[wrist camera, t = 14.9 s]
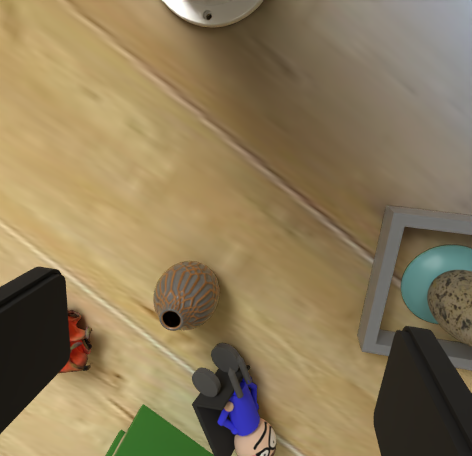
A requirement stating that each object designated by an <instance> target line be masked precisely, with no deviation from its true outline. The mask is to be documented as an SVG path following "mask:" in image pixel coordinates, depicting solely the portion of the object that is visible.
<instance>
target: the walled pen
mask: <svg viewBox="0 0 472 456" xmlns="http://www.w3.org/2000/svg"><path fill="white" fill-rule="evenodd" d="M404 227H413V228H421V229H429V230H437V231H445V232H453V233H461V234H469V235H472V215H465V214H457V213H448V212H440V211H431V210H423V209H414V208H406V207H397V206H389V205H386V209H385V213H384V218H383V222H382V227H381V231H380V236H379V240H378V245H377V249H376V254H375V258H374V263H373V267H372V271H371V276H370V280H369V285H368V289H367V294H366V298H365V303H364V307H363V312H362V316H361V321H360V325H359V330H358V334H357V336H358V340H359V343H360V347H361V351H362V352H368V353H374V354H379V355H385V356H389V353H390V350H391V346H392V342H393V338H394V335H395V332H392V331H386V330H380V325H381V320H382V316H383V312H384V308H385V304H386V300H387V296H388V292H389V288H390V284H391V280H392V276H393V272H394V267H395V263H396V259H397V255H398V251H399V247H400V243H401V239H402V235H403V231H404ZM450 270H468V271H472V249H471V248H468V247H465V246H460V245H443V246H438V247H434V248H432V249H429V250H427V251H425V252H423V253H421V254H420V255H418V256H417V257H416V258H415V259H414V260H413V261H412V262H411V263H410V264H409V265H408V267H407V268H406V270H405V272H404V274H403V277H402V281H401V293H402V297H403V300H404V302H405V304H406V305H407V307H408V308H409V309H410V310H411V311H412V312H413V313H414V314H415V315H416V316H418V317H419V318H421V319H423V320H425V321H428V322H431V323H435V324H439V323H438V322H437V321H436V320H435V318H434V317H433V315H432V313H431V311H430V309H429V306H428V301H427V294H428V289H429V287H430V285H431V283H432V281H433V280H434V279H435V278H436V277H437V276H439V275H440V274H442V273H444V272H447V271H450ZM437 340H438V342H439V343H440V345H441V347H442V348H443V350H444V351H445V353H446V354H447V356H448V358H449V359H450V361H451V362H452V364H453V365H454V367H455V368H460V369H466V370H471V371H472V347H471V346H468V345H467V344H465V343H459V342H453V341H447V340H441V339H437Z"/></svg>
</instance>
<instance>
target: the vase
mask: <svg viewBox="0 0 472 456" xmlns="http://www.w3.org/2000/svg"><path fill="white" fill-rule="evenodd" d="M219 294H220V291H219V284H218V280H217V278H216V276H215V274H214V273H213V272H212V271H211V270H210V269H209V268H208V267H207V266H205V265H204V264H201V263H199V262H194V261H185V262H181V263H178V264H176V265H174V266H172V267H170V268H169V269H168V270H167V271H166V272H165V273H164V274H163V275H162V276H161V278H160V279H159V281H158V283H157V285H156V288H155V291H154V307H155V311H156V313H157V315H158V317H159V319H160V322H161V324H162V326H163V327H165V328H166V329H168V330H172V331H175V330H190V329H194V328H196V327H198V326H200V325H202V324H203V323H204V322H206V321H207V320H208V319H209V318H210V317H211V315H212V314H213V313H214V311H215V309H216V307H217V304H218V300H219Z"/></svg>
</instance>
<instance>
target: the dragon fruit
mask: <svg viewBox="0 0 472 456" xmlns="http://www.w3.org/2000/svg"><path fill="white" fill-rule="evenodd" d="M68 314H75V315H76V316H73V317H70V316H68V323H69V337H70V350H71V353H70V358H69V361H68V362H67V364H66V365H65V366H64V367H63V369H62V370H61V371H60V372H59V373H66V372H73V371H81V370H83V371H84V370H88V369H89V368H90V366H91V365H89V366H85V365H86V362H87V360H88V356H87V355H86V354H90V352H91V347H92V346H91V344H89V343H90V340H89V333H91V331H92V328H89V327H88V326H87V327H86V330H82V329H79V328H77V326H76V324H77V322H78V321H79V320H80V319H81V315H80V314H79V313H77V312H75V311H73V310H70V311H68ZM85 338H87V339H85ZM82 339H84V340H85V342H86V344H87V346H88V348H89V350H87V349H86V348H85V346H84V344H83V341H82Z"/></svg>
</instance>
